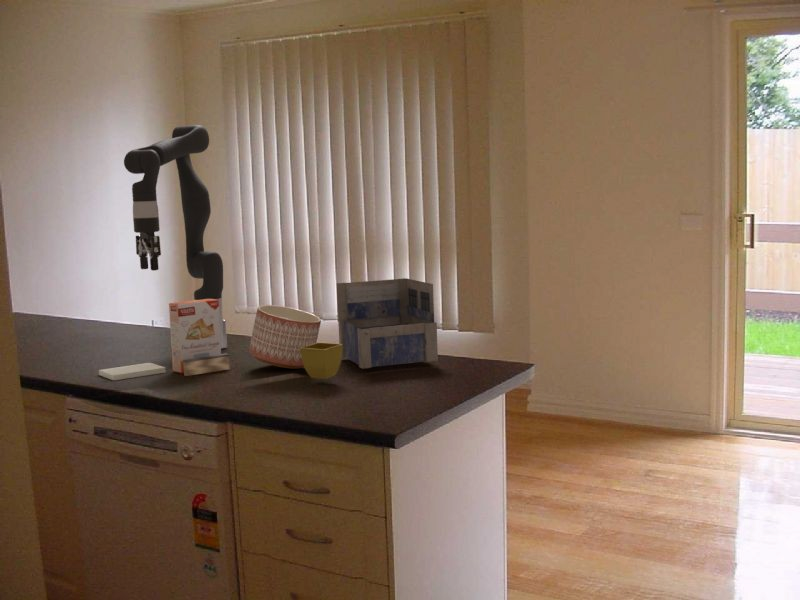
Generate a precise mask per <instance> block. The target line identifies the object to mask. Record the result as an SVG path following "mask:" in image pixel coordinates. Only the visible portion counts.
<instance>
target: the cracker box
mask: <svg viewBox="0 0 800 600" xmlns="http://www.w3.org/2000/svg"><path fill="white" fill-rule="evenodd" d="M168 307H169V308H168V313H169V327H170V330H169V331H170V344H171V345H170V346H171V361H172V365H171V366H172V371H173V372H175V373H178V374H184V365H183V360H186V359H192V358H199V357H206V356H213V355H220V354H222V349H221V340H220V319H219V300H216V299H203V300H194V299H192V300H186V301H184V300H183V301H177V302H176V301H175V302H170V303H168Z"/></svg>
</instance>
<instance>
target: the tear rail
mask: <svg viewBox="0 0 800 600" xmlns="http://www.w3.org/2000/svg"><path fill="white" fill-rule="evenodd" d="M183 365H184V373H183V375H184V376H185V377H189V376H195V375H200V374H201V375H202V374H208V373H213V372H221V371H226V370H227V371H228V370H230V369H231V366H230V354H229V353H221V354H220V355H213V356H206V357H199V358H192V359H186V360H183Z"/></svg>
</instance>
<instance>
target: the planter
mask: <svg viewBox="0 0 800 600" xmlns="http://www.w3.org/2000/svg"><path fill="white" fill-rule="evenodd" d="M321 322H322V319H321V317H320V316H318V315H316V314H313V313H311V312H307V311H304V310H301V309H297V308H293V307H288V306H281V305H274V304H273V305H271V304H261V305H258V306H257V309H256V313H255V318H254V323H253V329H252V333H251V336H250V337H251V338H250V342H249V348H248V351H249V353H250V354H251V355H252V356H254V358H255V359H256V360H258V361H259V362H262V363H264V364H266V365H270V366H273V367H278V368H282V369H283V368H285V369H302V368H304V365H303V361H302V356H301V350H300V348H301V347H304V346H308V345H312V344H315V343H318V338H319V337H318V336H319V332H320V328H321Z"/></svg>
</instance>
